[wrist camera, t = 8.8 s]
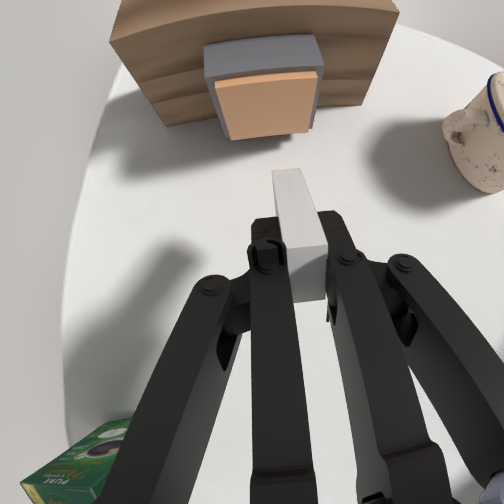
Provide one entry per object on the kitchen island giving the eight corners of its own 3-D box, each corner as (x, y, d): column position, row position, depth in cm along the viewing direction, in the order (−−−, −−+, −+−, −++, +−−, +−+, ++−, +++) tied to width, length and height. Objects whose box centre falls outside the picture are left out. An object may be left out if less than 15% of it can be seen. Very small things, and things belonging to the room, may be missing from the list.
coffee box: (115, 446, 22) (37, 515, 9) (102, 421, 23) (14, 481, 10) (186, 434, 22) (122, 527, 9) (171, 406, 23) (93, 488, 10)
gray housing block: (313, 134, 23) (327, 72, 15) (225, 144, 23) (204, 85, 15) (294, 58, 24) (298, -5, 16) (219, 67, 24) (202, 5, 16)
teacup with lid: (493, 121, 23) (550, 70, 12) (515, 198, 22) (589, 164, 11) (409, 107, 24) (460, 30, 12) (432, 195, 23) (512, 142, 11)
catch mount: (361, 105, 24) (399, 12, 12) (166, 126, 25) (108, 42, 13) (345, 59, 25) (367, -31, 13) (167, 79, 26) (123, -5, 14)
